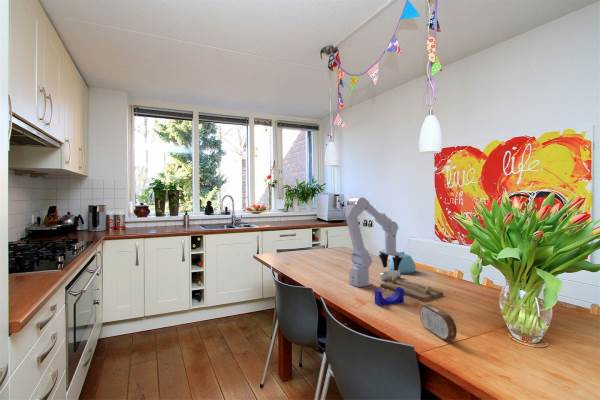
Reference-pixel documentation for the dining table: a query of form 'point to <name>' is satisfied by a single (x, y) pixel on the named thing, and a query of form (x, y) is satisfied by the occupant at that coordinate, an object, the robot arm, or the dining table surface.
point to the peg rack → (412, 289)
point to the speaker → (438, 322)
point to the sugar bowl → (404, 264)
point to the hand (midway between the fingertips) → (390, 268)
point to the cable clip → (392, 299)
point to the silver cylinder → (389, 275)
